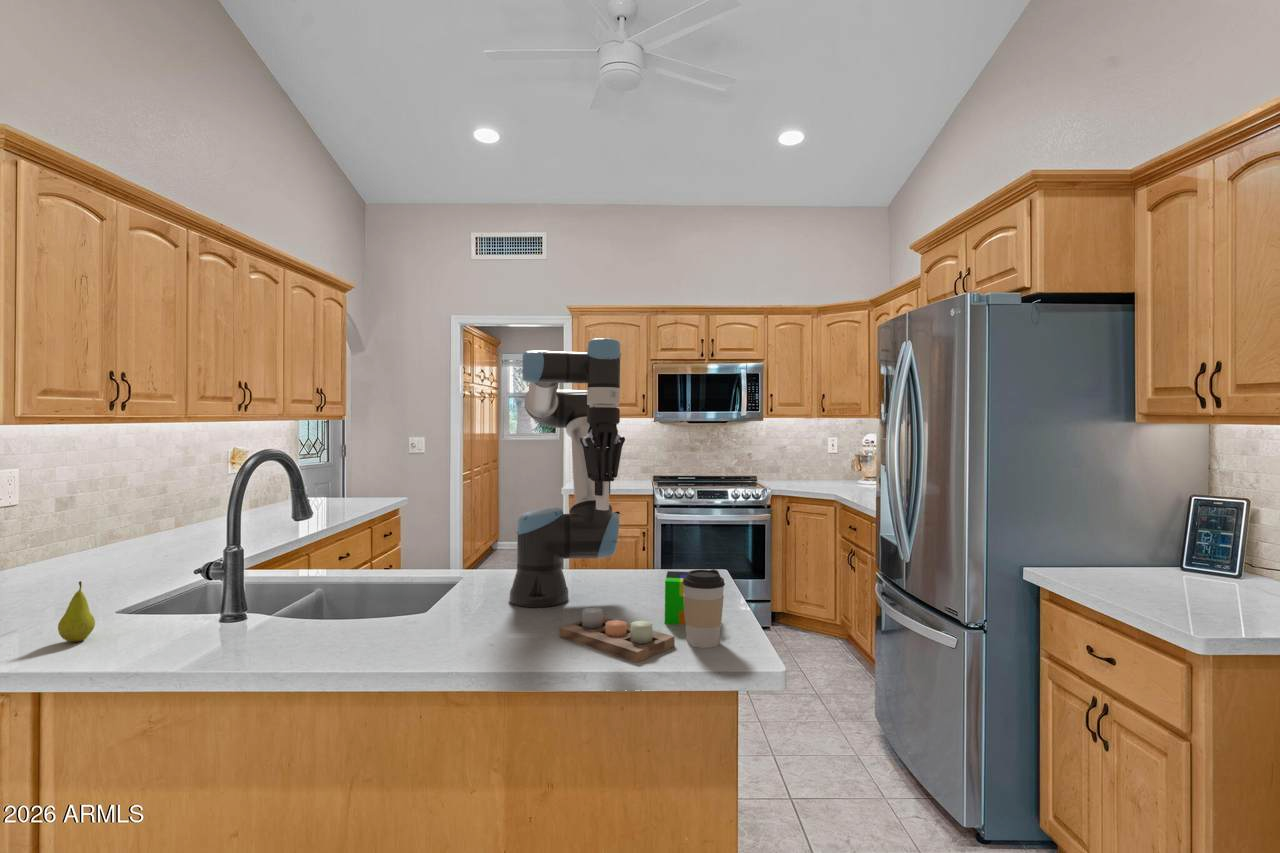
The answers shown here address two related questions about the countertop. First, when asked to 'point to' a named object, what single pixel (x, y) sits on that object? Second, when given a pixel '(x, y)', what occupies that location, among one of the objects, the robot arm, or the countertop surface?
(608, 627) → the button terracotta
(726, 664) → the countertop surface
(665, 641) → the button board
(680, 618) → the puzzle toy
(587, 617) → the button grey
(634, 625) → the button sage
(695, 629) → the coffee cup
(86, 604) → the fruit
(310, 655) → the countertop surface
